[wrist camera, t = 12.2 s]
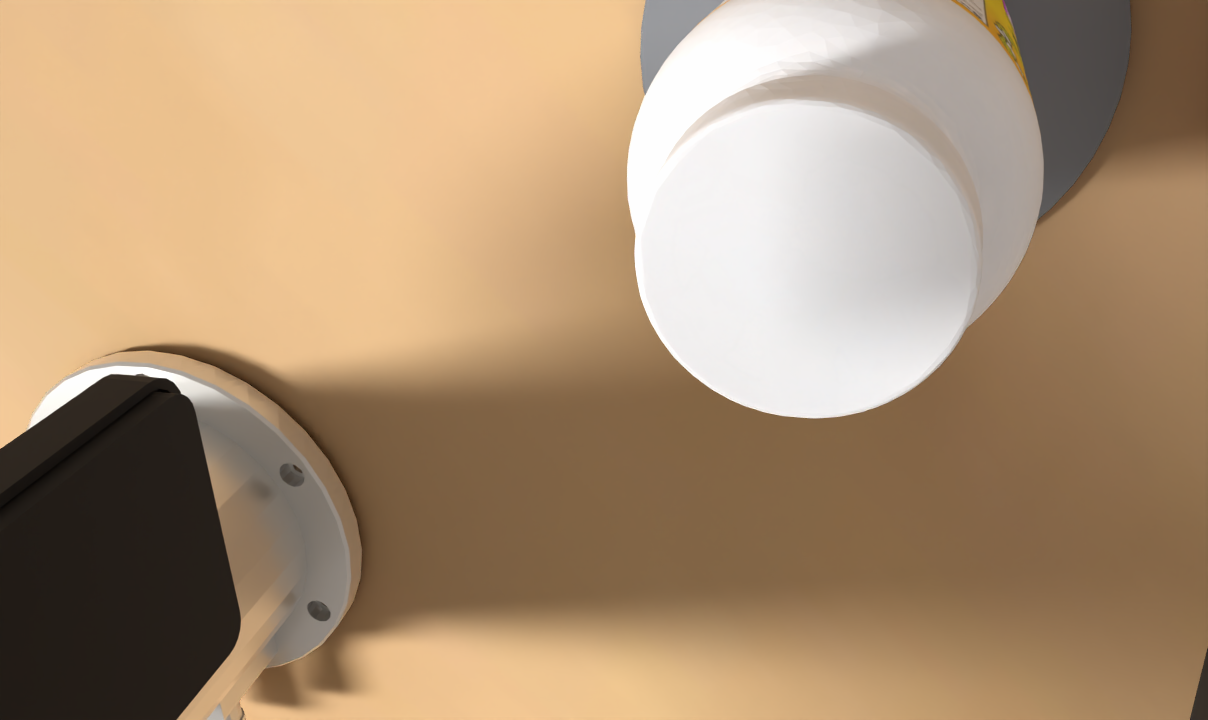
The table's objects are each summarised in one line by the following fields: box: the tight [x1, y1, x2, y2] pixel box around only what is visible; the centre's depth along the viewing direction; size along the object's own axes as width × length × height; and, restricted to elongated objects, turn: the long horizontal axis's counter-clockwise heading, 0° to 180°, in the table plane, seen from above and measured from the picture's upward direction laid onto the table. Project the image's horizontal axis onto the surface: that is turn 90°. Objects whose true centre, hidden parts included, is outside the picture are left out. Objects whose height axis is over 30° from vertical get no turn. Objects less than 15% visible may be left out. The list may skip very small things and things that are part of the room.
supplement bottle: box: [627, 0, 1044, 418], centre depth 21 cm, size 7×7×13 cm
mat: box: [640, 0, 1131, 220], centre depth 26 cm, size 11×11×1 cm
